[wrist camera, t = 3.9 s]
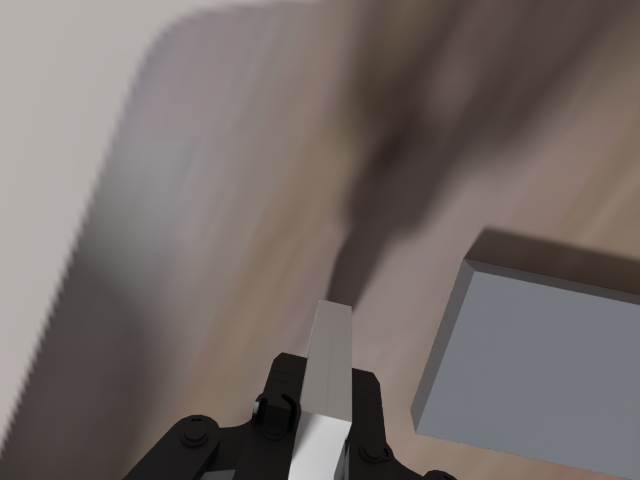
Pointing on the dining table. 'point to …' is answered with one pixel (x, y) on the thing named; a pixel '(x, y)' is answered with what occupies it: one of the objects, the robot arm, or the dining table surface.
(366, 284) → the dining table surface
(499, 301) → the tile
